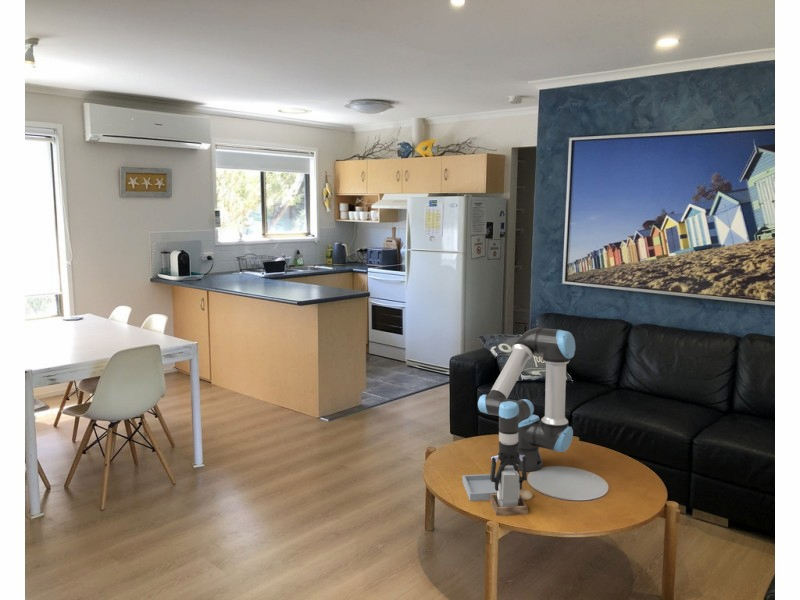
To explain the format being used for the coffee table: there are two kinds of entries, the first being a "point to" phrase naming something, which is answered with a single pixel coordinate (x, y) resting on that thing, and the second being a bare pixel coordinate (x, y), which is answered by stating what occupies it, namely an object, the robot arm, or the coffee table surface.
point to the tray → (479, 486)
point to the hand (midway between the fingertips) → (508, 497)
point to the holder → (508, 510)
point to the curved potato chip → (525, 494)
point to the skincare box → (509, 487)
